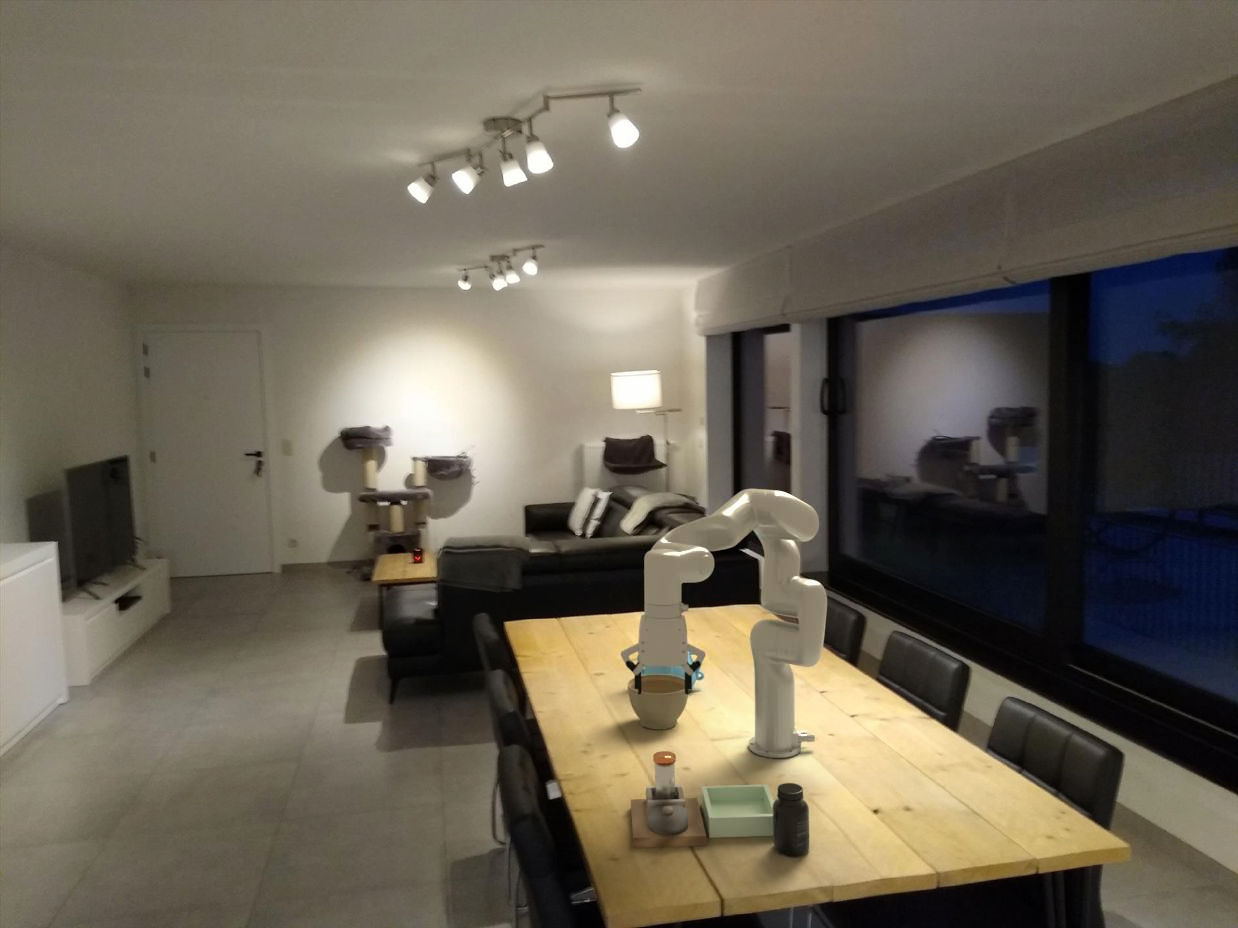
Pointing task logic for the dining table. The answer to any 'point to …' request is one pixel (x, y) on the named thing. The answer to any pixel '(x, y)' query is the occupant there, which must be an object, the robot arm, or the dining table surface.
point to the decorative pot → (673, 670)
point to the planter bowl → (658, 700)
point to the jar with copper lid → (664, 775)
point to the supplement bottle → (790, 821)
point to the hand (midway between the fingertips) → (663, 692)
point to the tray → (738, 810)
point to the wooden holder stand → (667, 821)
